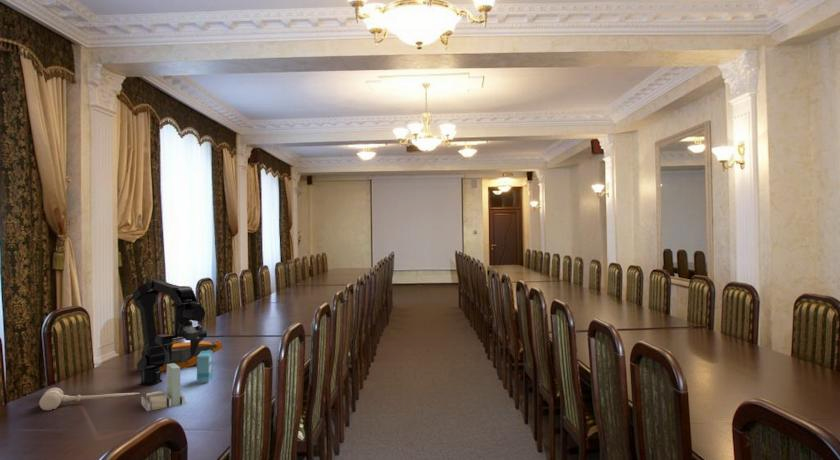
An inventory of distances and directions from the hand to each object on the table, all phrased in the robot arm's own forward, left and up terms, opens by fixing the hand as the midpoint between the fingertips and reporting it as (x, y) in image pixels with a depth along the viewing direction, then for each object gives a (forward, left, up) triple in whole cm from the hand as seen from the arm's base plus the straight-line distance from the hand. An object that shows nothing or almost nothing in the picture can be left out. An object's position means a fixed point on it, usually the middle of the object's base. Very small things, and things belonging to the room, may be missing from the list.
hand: (181, 358), depth 205 cm
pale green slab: (+8, -16, -12) cm, 21 cm away
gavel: (-23, -18, -13) cm, 32 cm away
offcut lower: (+5, -20, -12) cm, 24 cm away
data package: (+2, +13, -13) cm, 18 cm away
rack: (+6, -18, -13) cm, 23 cm away
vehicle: (-24, +36, -13) cm, 45 cm away
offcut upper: (+5, -20, -10) cm, 23 cm away
